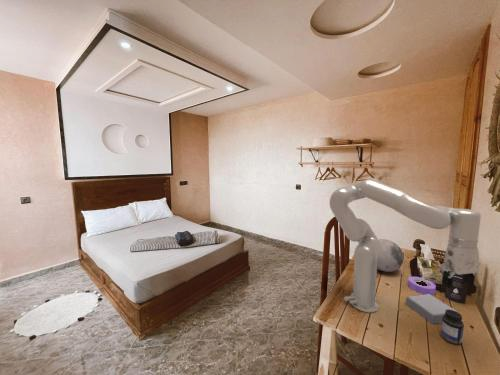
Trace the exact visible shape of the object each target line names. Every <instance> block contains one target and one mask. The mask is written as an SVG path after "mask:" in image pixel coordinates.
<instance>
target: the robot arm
mask: <svg viewBox="0 0 500 375" xmlns="http://www.w3.org/2000/svg"><path fill="white" fill-rule="evenodd" d="M364 198H367V199H370V201H371V200H372V201H375V202H376V203H379V204H381V205H383V206H385V207H388V208H390V209H392V210H394V211H395V212H396V213H399V214H401V215H402V216H404V217H407V218H408V219H410V220H412V221H414V222H416V223H419V224H421V225H422V226H425V227H428V228H431V229H433V230H434V229H435V230H444V229H447V228H448V227H449V230H448V231H449V234H448V242H447V246H446V248H445V253H444V258H443V263H441V264H440V265H438V268H439V271H440V272H439V273H441V276H442V279H441V284H442V285H443V286H444V287H446V288H449V289H453V285H454V278H453V277H454V276H455V275H463V277H462V278H463V279H462V282H463V283H466V284H468V285H470V286H473V287H474V286H475V281H476V280H475V279H476V276H477V272H478V271H479V268H480V266H481V262H480V253H479V247H478V244H479V243H478V242H479V233H480V225H481V219H482V218H481V217H482V216H481V215H482V214H481V213H480V212H479V211H478V210H475V209H470V208H456V207H448V206H444V205H434V204H433V205H431V206H430V205H428V204H426V203H423V202H422V201H419V200H416V199H415V198H413V197H411V196H410V195H409V194H407V193H406V192H405V191H403V190H401V189H398V188H395V187H392V186H391V185H387V184H385V183H383V182H381V180H379V179H377V178H375V177H373V178H372V177H371V178H367V179H364V180H362V181H358V182H356V183H355V182H354V183H352V184H349V185H344V186H341V187H339V188H337V189H335V190H334V191H333V192H332V194H331V195H330V198H329V208H330V210H331V211H332V214H333V216H334V217H335V219H336V220H337V223H338V225H339V226H340V228H341V230H342V231H343V233H344V235H345V237H346V238H347V239H348V240H349V241H350V242H353V243H354V242H356V243H358V244H357V245H356V247H355V249H354V251H353V257H354V258H353V260H354V269H353V270H354V271H353V272H354V274H353V287H352V288H353V292H351V294H350V295H349V296H344V297H343V300H344V301H345V302H349V303H350V304H351V306H353V307H354V308H355V309H357V310H359V311H362V312H364V313H369V314H370V313H376V312H377V311H378V310H379V303H378V302H377V301H376V295H377V294H376V291H377V276H378V275H377V274H378V269H377V259H378V256H379V254H380V252H381V244H380V242H379V240H378V239H379V238H378V237H377V235H376V234H375V232H374V231H373V229H372V228H371V226H370V224H369V223H368V222H367V221H365V220H364V219H362V218H357V216H356V215H355V212H354V211H353V210H352V209H351V208H350V207H349V203H352V202H354V201H357V200H361V199H364ZM449 272H450V273H449Z"/></svg>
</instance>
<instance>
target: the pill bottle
mask: <svg viewBox="0 0 500 375" xmlns="http://www.w3.org/2000/svg"><path fill="white" fill-rule="evenodd" d="M454 310H455V309H454ZM454 310H450V309H447V310H446V311H445V315H443V316H442V323H441V327H440V336H441V338H442V339H444V340H445V341H446V342H448V343H450V344H452V345H462V342H463V335H464V329H465V328H464V327H465V324H464V321H462V320H463V315H462V314H461V313H460V312H458V311H457V310H456V311H457V312H456V311H454Z"/></svg>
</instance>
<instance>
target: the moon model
mask: <svg viewBox="0 0 500 375" xmlns="http://www.w3.org/2000/svg"><path fill="white" fill-rule="evenodd" d="M377 239H378V240H379V242H380V244H381V252H380V254H379V256H378V259H377V270H379V271H382V272H384V273H386V272H387V273H390V272H391V273H392V272H395V271H397V270H399V269H400V268H401V267H402V265H403V263H404V260H405V257H404V256H405V255H404V253H403V251H402V248H401V247H400V246H399V245H398V244H397V243H395V242H393V241H392V240H389V239H385V238H381V239H379V238H377Z"/></svg>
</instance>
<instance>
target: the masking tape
mask: <svg viewBox="0 0 500 375" xmlns="http://www.w3.org/2000/svg"><path fill="white" fill-rule="evenodd" d="M422 278H423V277H419V276H410V277H408V282H407V286H408V287H409V289H411V290H412V291H414V292H416V293H419V294H420V295H425V294H430V295H432V296H433V295H435V294H436V290H437V288H436V287H437V285H436V284H435V283H434V282H433V281H431V280H429V279H427V280H425V279H426V278H424V279H422ZM428 280H429V281H428ZM421 281H423V282H425V283H426V284H427V286H422V285H419V284H417V283H416V282H421Z"/></svg>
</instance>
